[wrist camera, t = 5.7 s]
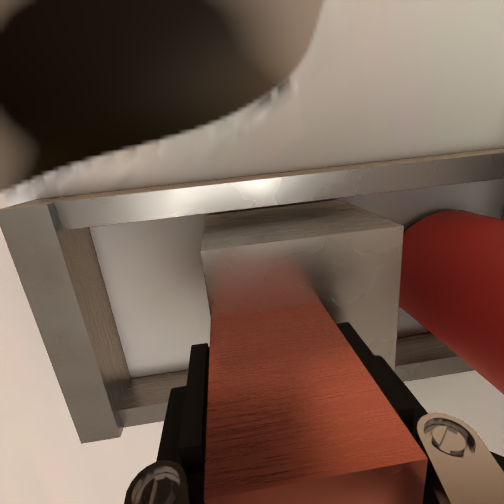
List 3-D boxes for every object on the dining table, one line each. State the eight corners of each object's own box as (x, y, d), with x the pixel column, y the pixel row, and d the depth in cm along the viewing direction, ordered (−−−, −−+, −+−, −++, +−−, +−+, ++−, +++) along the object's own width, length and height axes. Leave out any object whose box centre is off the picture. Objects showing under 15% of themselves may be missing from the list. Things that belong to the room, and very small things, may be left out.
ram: (338, 199, 16) (620, 312, 5) (339, 343, 19) (517, 624, 8) (206, 215, 16) (177, 380, 4) (228, 360, 19) (244, 686, 7)
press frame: (564, 141, 17) (918, 131, 8) (522, 333, 21) (733, 459, 12) (36, 199, 15) (-204, 262, 6) (101, 399, 19) (6, 603, 10)
